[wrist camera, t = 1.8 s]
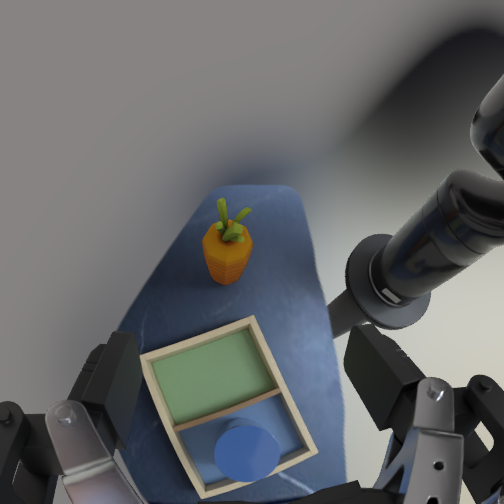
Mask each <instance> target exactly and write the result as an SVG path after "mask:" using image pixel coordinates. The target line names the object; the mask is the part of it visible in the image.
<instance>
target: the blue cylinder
mask: <svg viewBox="0 0 504 504" xmlns="http://www.w3.org/2000/svg"><path fill="white" fill-rule="evenodd" d="M279 459H280V448H279V444H278V442H277V440H276V439H275V438H274V436H273V435H272V434H271V433H270V432H268V431H267V430H266V429H265V428H264V427H263V426H261V425H260V424H259V423H258V422H256V421H254V420H252V419H248V418H235V419H232V420H229V421H227V422H226V423H224V424H223V425H222V426H221V427H220V428H219V430H218V431H217V433H216V437H215V445H214V460H215V463H216V465H217V467H218V469H219V470H220V471H221V472H222V473H223V474H224V475H225V476H227V477H228V478H230V479H232V480H235V481H239V482H254V481H258V480H261V479H263V478H265V477H267V476H268V475H269V474H271V473H272V472H273V471H274V469H275V468H276V466H277V465H278V462H279Z"/></svg>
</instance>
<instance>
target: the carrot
mask: <svg viewBox="0 0 504 504" xmlns="http://www.w3.org/2000/svg"><path fill="white" fill-rule="evenodd" d="M217 207H218V211H219V216H220V220H221V221H220V222H217V223H214V224H212V225H211V227H210V228H209V230H208V231H207V233H206V235H205V236H204V238H203V240H202V245H203V251H204V256H205V260H206V263H207V266H208V269H209V272H210V274H211V276H212V278H213V279H214V281H216V282H218V283H220V284H223V285H228V284H231V283H234V282H236V281H237V280H238V279H239V278H240V276H241V275H242V273H243V271H244V269H245V267H246V265H247V263H248V260H249V257H250V255H251V251H252V248H253V242H252V240H251V237H250V235H249V233H248V230H247V228H246V226H243V225H241V224H239V222H240V221H241V220H242V219H243V218H244V217H245V216H246V215H247V214H248V213H250V212H251V211H252V210H251V209H250V208H248V207H246V208H244V209H243V210H242V211H241V212H240V213H239V214H238V215H237V216H236V218H235V219H234V221H232V220H230V219H229V220H228V217H227V206H226V201H225V199H224V198H221V199H219V200H218V201H217Z"/></svg>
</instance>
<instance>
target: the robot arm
mask: <svg viewBox="0 0 504 504" xmlns="http://www.w3.org/2000/svg"><path fill="white" fill-rule="evenodd" d="M470 137H471V142H472V144H473V146H474V148H475V149H476V150H477V152H478V153H479V154H480V155H481V157H482V158H483V159H484V160H485V161H486V162H487V163H488V164H489V165H490V166H491V167H492V168H493V169H494V170H495V171H496V172H497V174H498V175H499V176H500V177H501V178H502V179H503V180H504V75H503V76H502V77H501V78H500V80H499V81H498V82H497V83H496V84H495V86H494V87H493V88H492V89H491V90H490V92H489V93H488V94H487V96H486V97H485V99H484V100H483V101H482V103H481V104H480V106H479V108H478V109H477V111H476V113H475V115H474V118H473V120H472V124H471V129H470ZM502 245H504V181H496V180H492V179H489V178H486V177H484V176H482V175H479V174H477V173H475V172H473V171H470V170H467V169H456V170H454V171H452V172H451V173H449V174H448V175H447V177H446V178H445V179H444V180H443V181H442V183H441V184H440V185H439V186H438V187H437V189H436V190H435V191H434V192H433V193H432V194H431V196H430V197H429V198H428V199H427V200H426V201H425V203H424V204H423V205H422V206H421V207H420V208H419V209H418V210H417V212H416V213H415V214H414V215H413V216H412V217H411V218H410V219H409V220H408V221H407V223H406V224H405V225H404V226H403V227H402V228H401V229H400V230H399V231H398V232H397V233H396V234H395V235H394V236H393V237H392V238H391V239H390V240H389V241H388V242H387V243H386V244H385V245H384V246H383V247H382V248H381V249H380V250H379V251H378V252H377V253H375V254H374V256H373V257H372V258H371V260H370V262H369V265H368V279H369V283H370V286H371V288H372V290H373V292H374V293H375V295H376V296H377V297H378V298H379V299H380V300H381V301H382V302H383V303H385V304H387V305H389V306H391V307H395V308H402V307H406V306H408V305H409V304H411V303H412V302H414V301H415V300H417V299H418V298H420V297H422V296H424V295H425V294H427V293H428V292H430V291H432V290H433V289H435V288H437V287H438V286H440V285H441V284H443V283H444V282H446V281H448V280H449V279H451V278H452V277H454V276H455V275H457V274H458V273H460V272H461V271H463V270H464V269H466V268H467V267H468V266H470V265H471V264H472V263H474V262H475V261H477V260H478V259H479V258H481V257H482V256H483V255H485V254H486V253H488V252H489V251H490V250H492V249H493V248H495V247H497V246H502ZM344 369H345V372H346V374H347V376H348V377H349V379H350V381H351V382H352V384H353V386H354V388H355V389H356V391H357V393H358V394H359V396H360V398H361V400H362V401H363V403H364V405H365V407H366V408H367V410H368V412H369V414H370V415H371V417H372V419H373V421H374V422H375V424H376V426H377V428H378V429H379V431H382V430H385V429H388V428H392V430H393V433H392V435H391V437H390V440H389V444H388V448H387V451H386V455H385V459H384V462H383V465H382V469H381V472H380V475H379V477H378V479H377V481H376V483H375V484H374V486H373V488H361V487H360V484H359V482H358V480H356V481H352V482H349V483H345V484H341V485H337V486H334V487H329V488H325V489H321V490H319V491H317V492H315V493H313V494H310V495H308V496H306V497H303V498H301V499H298V500H296V501H293V502H291V503H288V504H459V501H460V493H461V485H462V479H463V481H464V483H465V485H466V486H467V488H468V490H469V492H470V494H471V495H472V497H473V499H474V501H475V503H476V504H504V391H503V390H502V388H501V387H499V385H498V384H497V383H496V382H495V381H494V380H493V379H492V378H490V377H488V376H485V375H475V376H473V377H472V378H471V379H470V381H469V383H468V385H467V387H461V388H452V387H451V386H450V385H449V384H448V383H447V382H446V381H444V380H442V379H440V378H435V377H428V378H427V377H426V376H425V375H424V374H423V373H422V372H421V371H420V369H419V368H418V367H417V366H416V365H415V364H414V362H413V361H412V360H411V359H410V358H409V357H407V354H406V353H405V352H404V351H403V350H401V348H400V347H399V345H397V343H396V342H395V341H394V340H392V339H391V338H389V337H387V336H386V335H382V334H381V333H380V332H379V331H378V329H377V328H376V327H375V326H374V325H373V324H365V325H356V326H353V327H352V329H351V331H350V335H349V340H348V344H347V348H346V352H345V356H344ZM141 383H142V364H141V360H140V355H139V351H138V346H137V341H136V337H135V334H134V333H133V332H117V331H114V332H113V333H112V334H111V337H110V338H109V340H108V342H107V344H100V345H99V346H97V347H96V348H95V349H94V350H93V351H92V352H91V353H90V355H89V357H88V358H87V361H86V363H85V364H84V366H83V368H82V371H81V372H80V374H79V376H78V378H77V380H76V382H75V384H74V386H73V388H72V390H71V392H70V394H69V396H68V399H67V400H62V401H59V402H56V403H55V404H53V405H52V406H51V407H50V408H49V409H48V410H47V412H46V414H24V413H23V411H22V409H21V408H20V406H19V405H18V404H16V403H14V402H10V401H5V402H1V403H0V504H52V503H53V498H54V493H55V489H56V484H57V479H58V475H64V476H62V482H63V485H64V487H65V490H66V492H67V494H68V496H69V498H70V500H71V502H72V504H144V502H143V501H142V500H141V499H140V497H139V496H138V495H137V493H136V492H135V490H134V489H133V487H132V486H131V485H130V483H129V482H128V480H127V479H126V477H125V476H124V474H123V473H122V471H121V470H120V468H119V467H118V465H117V463H116V462H115V460H114V459H113V456H114V451H115V449H121V450H126V448H127V443H128V438H129V433H130V429H131V424H132V420H133V415H134V411H135V407H136V403H137V399H138V395H139V391H140V387H141ZM480 421H482V423H483V424H484V426H485V427H486V428H487V430H488V431H489V432H490V434H491V435H492V437H493V439H494V445H493V448H492V449H491V451H490V452H489V451H488V449H487V448H486V446H485V445H484V443H483V442H482V440H481V439H480V438H479V436H478V435H477V433H476V432H475V431H474V429H475V428H476V427H477V425H478V424H479V423H480ZM18 462H20V463H19V466H18V469H17V472H16V475H15V478H14V474H15V471H16V468H17V465H18ZM13 478H14V481H13ZM12 481H13V485H12ZM198 504H263V503H253V502H245V501H220V502H199V501H198Z"/></svg>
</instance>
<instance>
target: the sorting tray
mask: <svg viewBox="0 0 504 504" xmlns="http://www.w3.org/2000/svg"><path fill="white" fill-rule="evenodd" d="M140 360H141V364H142V371H143V374H144V377H145V380H146V383H147V385H148V388H149V391H150V393H151V396H152V398H153V401H154V403H155V406H156V408H157V411H158V413H159V416H160V418H161V420H162V423H163V425H164V427H165V429H166V432H167V434H168V436H169V438H170V440H171V442H172V445H173V447H174V449H175V451H176V453H177V455H178V457H179V459H180V461H181V463H182V465H183V467H184V469H185V471H186V473H187V474H188V476H189V478H190V480H191V482H192V484H193V485H194V487H195V489H196V491H197V492H198V494H199V496H200V498H201V499H204V498H207V497H211V496H214V495H218V494H221V493H224V492H227V491H230V490H233V489H236V488H239V487H242V486H245V485H247V484H250V483H253V482H239V481H235V480H232V479H230V478H228V477H227V476H225V475H224V474H223V473H222V472H221V471H220V470H219V469H218V467H217V465H216V463H215V460H214V445H215V437H216V433H217V431H218V430H219V428H220V427H221V426H222V425H223V424H224V423H226V422H227V421H229V420H232V419H235V418H248V419H252V420H254V421H256V422H258V423H259V424H260V425H261V426H263V427H264V428H265V429H266V430H267V431H268V432H270V433H271V434H272V435H273V436H274V438H275V439H276V440H277V442H278V444H279V448H280V459H279V462H278V465H277V466H276V468H275V469H274V471H273V472H272V473H271V474H269V475H268V476H270V475H273V474H275V473H277V472H280V471H282V470H284V469H286V468H289V467H291V466H293V465H295V464H297V463H299V462H301V461H303V460H305V459H307V458H309V457H311V456H313V455H315V454H317V453H318V450H317V448H316V446H315V444H314V442H313V440H312V438H311V436H310V434H309V432H308V430H307V428H306V426H305V424H304V422H303V419H302V417H301V415H300V413H299V411H298V409H297V407H296V405H295V403H294V401H293V399H292V396H291V394H290V392H289V390H288V388H287V386H286V384H285V382H284V380H283V377H282V375H281V373H280V371H279V369H278V367H277V365H276V362H275V360H274V358H273V356H272V354H271V352H270V349H269V347H268V345H267V343H266V341H265V338H264V336H263V334H262V332H261V330H260V327H259V325H258V323H257V321H256V319H255V316H254V315H252V316H249V317H247V318H244V319H241V320H239V321H236V322H234V323H231V324H228V325H226V326H223V327H220V328H218V329H215V330H212V331H209V332H207V333H204V334H201V335H198V336H196V337H193V338H190V339H187V340H184V341H181V342H178V343H175V344H173V345H170V346H167V347H164V348H161V349H158V350H155V351H152V352H148V353H145V354H142V355H140ZM268 476H267V477H268ZM265 478H266V477H265ZM254 482H255V481H254Z"/></svg>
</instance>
